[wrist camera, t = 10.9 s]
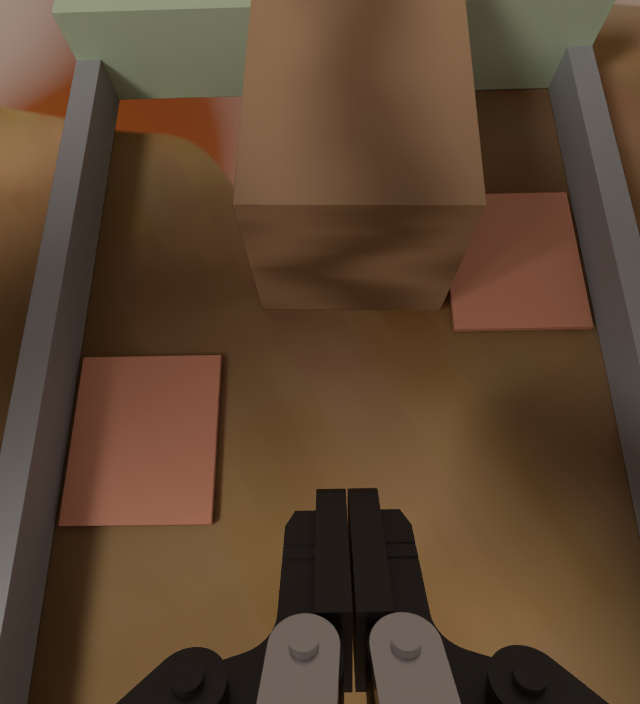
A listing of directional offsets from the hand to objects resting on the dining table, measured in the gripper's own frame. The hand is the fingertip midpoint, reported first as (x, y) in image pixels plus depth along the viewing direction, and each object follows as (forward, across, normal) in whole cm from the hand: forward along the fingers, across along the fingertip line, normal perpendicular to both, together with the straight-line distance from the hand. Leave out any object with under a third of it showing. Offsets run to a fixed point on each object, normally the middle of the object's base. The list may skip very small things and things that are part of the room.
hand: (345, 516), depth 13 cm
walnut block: (+17, -1, -5) cm, 18 cm away
